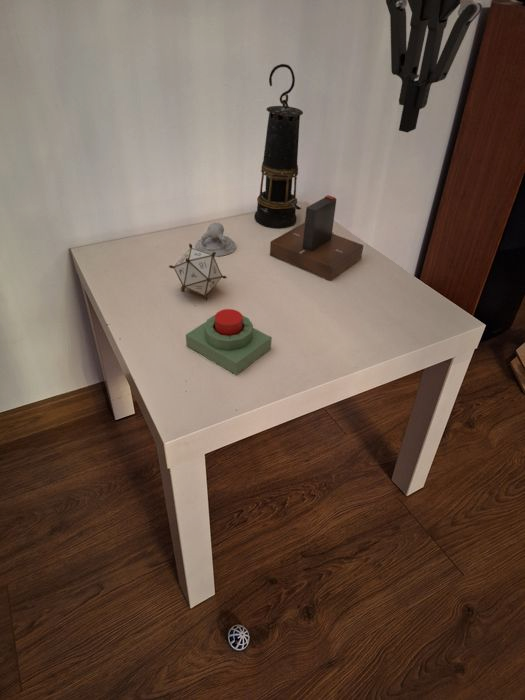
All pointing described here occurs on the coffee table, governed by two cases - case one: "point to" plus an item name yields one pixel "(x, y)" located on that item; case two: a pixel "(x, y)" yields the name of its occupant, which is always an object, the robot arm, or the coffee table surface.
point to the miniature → (215, 241)
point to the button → (228, 322)
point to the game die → (198, 271)
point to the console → (316, 253)
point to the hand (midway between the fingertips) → (407, 129)
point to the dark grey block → (319, 222)
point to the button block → (229, 345)
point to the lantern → (280, 164)
